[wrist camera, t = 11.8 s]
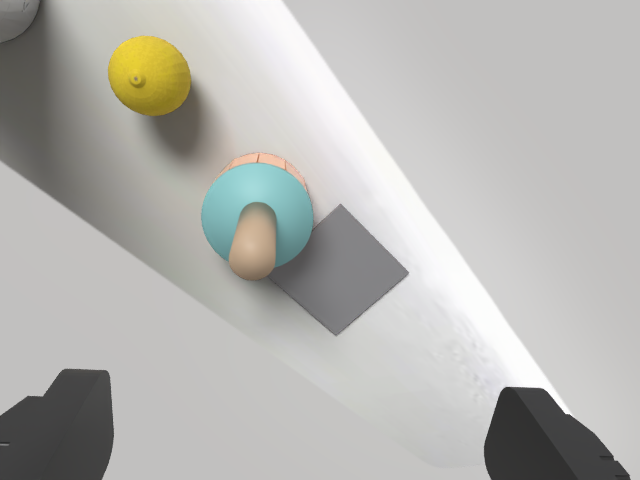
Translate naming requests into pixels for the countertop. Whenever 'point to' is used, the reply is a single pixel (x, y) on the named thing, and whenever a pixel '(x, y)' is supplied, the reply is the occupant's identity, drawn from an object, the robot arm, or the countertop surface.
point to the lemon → (149, 75)
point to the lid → (257, 218)
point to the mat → (339, 271)
